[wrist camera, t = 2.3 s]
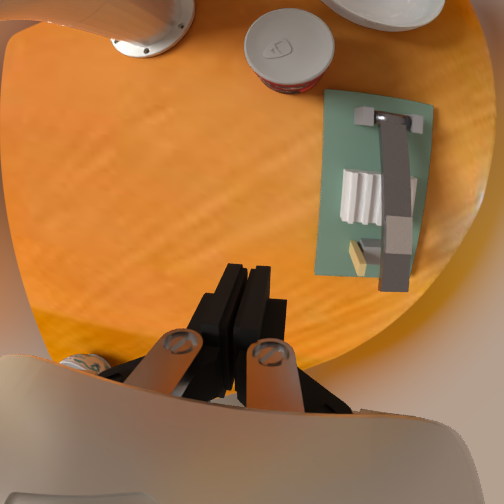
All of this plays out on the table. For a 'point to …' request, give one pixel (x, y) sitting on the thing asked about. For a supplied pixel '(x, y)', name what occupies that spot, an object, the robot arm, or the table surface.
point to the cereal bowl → (387, 12)
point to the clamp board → (365, 158)
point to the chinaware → (86, 362)
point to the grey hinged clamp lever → (394, 202)
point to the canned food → (289, 49)
